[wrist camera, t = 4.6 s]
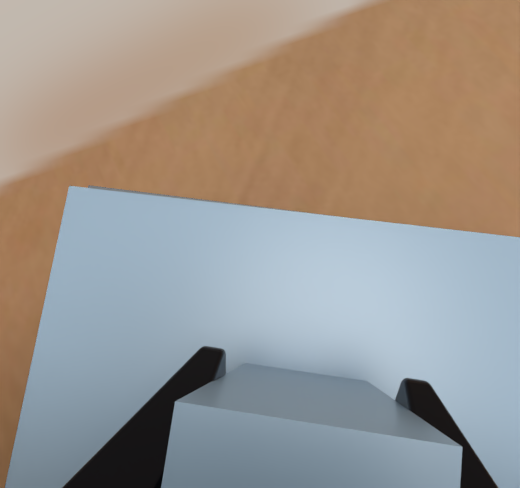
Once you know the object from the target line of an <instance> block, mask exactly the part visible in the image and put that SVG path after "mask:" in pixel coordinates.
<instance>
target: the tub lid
mask: <svg viewBox="0 0 520 488" xmlns="http://www.w3.org/2000/svg"><path fill="white" fill-rule="evenodd" d="M203 346H210V347H216V348H222V349H224V350H225V352H226V375H224V376H223V377H221V378H219V379H217V380H215V381H212V382H210V383H208V384H206V385H204V386H202V387H201V388H199V389H197V390H195V391H193V392H191V393H190V394H188V395H186V396H184V397H182V398H180V399H178V400H177V401H175V405H174V411H173V417H172V423H171V429H170V435H169V442H168V448H167V454H166V460H165V466H164V473H163V479H162V485H161V488H460V480H461V464H462V448H463V447H462V446H460V445H459V444H457V443H456V442H455V441H453V440H452V439H450V438H449V437H447V436H446V435H444V434H443V433H442V432H440V431H439V430H437V429H436V428H434V427H433V426H431V425H430V424H429V423H427V422H426V421H424V420H423V419H421V418H420V417H418V416H417V415H415V414H414V413H413V412H411V411H409V410H408V409H406V408H405V407H403V406H402V405H400V404H399V403H398V402H396V401H395V399H396V396H397V393H398V390H399V387H400V384H401V381H402V380H403V379H404V378H412V379H418V380H424V381H427V382H428V383H429V384H430V385H431V386H432V387H433V389H434V390H435V392H436V393H437V395H438V397H439V398H440V400H441V401H442V403H443V404H444V406H445V407H446V409H447V410H448V412H449V413H450V415H451V416H452V418H453V419H454V421H455V422H456V424H457V425H458V427H459V428H460V430H461V432H462V433H463V435H464V436H465V438H466V439H467V441H468V442H469V444H470V445H471V447H472V448H473V450H474V451H475V453H476V454H477V456H478V457H479V459H480V460H481V462H482V463H483V465H484V467H485V468H486V470H487V471H488V473H489V474H490V476H491V477H492V479H493V480H494V482H495V483H496V485H497V486H498V488H520V237H511V236H503V235H494V234H485V233H476V232H468V231H459V230H450V229H442V228H433V227H424V226H415V225H407V224H398V223H389V222H380V221H372V220H363V219H354V218H345V217H337V216H328V215H319V214H311V213H302V212H293V211H284V210H276V209H267V208H258V207H249V206H241V205H232V204H223V203H214V202H206V201H197V200H188V199H180V198H171V197H162V196H153V195H145V194H136V193H127V192H118V191H110V190H101V189H92V188H83V187H75V186H69V190H68V194H67V199H66V204H65V208H64V213H63V218H62V222H61V227H60V232H59V236H58V241H57V246H56V251H55V255H54V260H53V265H52V269H51V274H50V279H49V283H48V288H47V293H46V297H45V302H44V307H43V311H42V316H41V321H40V325H39V330H38V335H37V339H36V344H35V349H34V353H33V358H32V363H31V367H30V372H29V377H28V382H27V386H26V391H25V396H24V400H23V405H22V410H21V414H20V419H19V424H18V428H17V433H16V438H15V442H14V447H13V452H12V456H11V461H10V466H9V470H8V475H7V480H6V484H5V488H62V487H63V486H64V485H65V484H66V483H67V482H68V481H69V480H70V479H71V478H72V477H73V476H74V475H75V474H76V473H77V472H78V471H79V470H80V469H81V468H82V467H83V466H84V465H85V464H86V463H87V462H88V461H89V460H90V459H91V458H92V457H93V456H94V455H95V454H96V453H97V452H98V451H99V450H100V449H101V448H102V447H103V446H104V445H105V444H106V443H107V442H108V441H109V440H110V439H111V438H112V437H113V436H114V435H115V434H116V433H117V432H118V431H119V430H120V429H121V428H122V427H123V426H124V425H125V424H126V423H127V422H128V420H129V419H130V418H131V417H132V416H133V415H134V414H135V413H136V412H137V411H138V410H139V409H140V408H141V407H142V406H143V405H144V404H145V403H146V402H147V401H148V400H149V399H150V398H151V397H152V396H153V395H154V394H155V393H156V392H157V391H158V390H159V389H160V388H161V387H162V386H163V385H164V384H165V383H166V382H167V381H168V380H169V379H170V378H171V377H172V376H173V375H174V374H175V373H176V372H177V371H178V370H179V369H180V368H181V367H182V366H183V365H184V364H185V363H186V362H187V361H188V360H189V359H190V358H191V357H192V356H193V355H194V354H195V353H196V352H197V351H198V350H199V349H200V348H201V347H203Z"/></svg>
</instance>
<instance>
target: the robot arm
mask: <svg viewBox="0 0 520 488" xmlns="http://www.w3.org/2000/svg"><path fill="white" fill-rule="evenodd" d="M224 375H226V352H225V350H224V349H222V348H216V347H210V346H203V347H201V348H200V349H199V350H198V351H197V352H196V353H195V354H194V355H193V356H192V357H191V358H190V359H189V360H188V361H187V362H186V363H185V364H184V365H183V366H182V367H181V368H180V369H179V370H178V371H177V372H176V373H175V374H174V375H173V376H172V377H171V378H170V379H169V380H168V381H167V382H166V383H165V384H164V385H163V386H162V387H161V388H160V389H159V390H158V391H157V392H156V393H155V394H154V395H153V396H152V397H151V398H150V399H149V400H148V401H147V402H146V403H145V404H144V405H143V406H142V407H141V408H140V409H139V410H138V411H137V412H136V413H135V414H134V415H133V416H132V417H131V418H130V419H129V420H128V422H127V423H126V424H125V425H124V426H123V427H122V428H121V429H120V430H119V431H118V432H117V433H116V434H115V435H114V436H113V437H112V438H111V439H110V440H109V441H108V442H107V443H106V444H105V445H104V446H103V447H102V448H101V449H100V450H99V451H98V452H97V453H96V454H95V455H94V456H93V457H92V458H91V459H90V460H89V461H88V462H87V463H86V464H85V465H84V466H83V467H82V468H81V469H80V470H79V471H78V472H77V473H76V474H75V475H74V476H73V477H72V478H71V479H70V480H69V481H68V482H67V483H66V484H65V485H64V486H63V487H62V488H161V485H162V479H163V473H164V466H165V460H166V454H167V448H168V442H169V435H170V429H171V423H172V417H173V411H174V405H175V401H177V400H178V399H180V398H182V397H184V396H186V395H188V394H190V393H191V392H193V391H195V390H197V389H199V388H201V387H202V386H204V385H206V384H208V383H210V382H212V381H215V380H217V379H219V378H221V377H223V376H224ZM395 401H396V402H398V403H399V404H400V405H402V406H403V407H405V408H406V409H408V410H409V411H411V412H413V413H414V414H415V415H417V416H418V417H420V418H421V419H423V420H424V421H426V422H427V423H429V424H430V425H431V426H433V427H434V428H436V429H437V430H439V431H440V432H442V433H443V434H444V435H446V436H447V437H449V438H450V439H452V440H453V441H455V442H456V443H457V444H459V445H460V446H462V447H463V448H462V464H461V480H460V488H498V486H497V485H496V483H495V482H494V480H493V479H492V477H491V476H490V474H489V473H488V471H487V470H486V468H485V467H484V465H483V463H482V462H481V460H480V459H479V457H478V456H477V454H476V453H475V451H474V450H473V448H472V447H471V445H470V444H469V442H468V441H467V439H466V438H465V436H464V435H463V433H462V432H461V430H460V428H459V427H458V425H457V424H456V422H455V421H454V419H453V418H452V416H451V415H450V413H449V412H448V410H447V409H446V407H445V406H444V404H443V403H442V401H441V400H440V398H439V397H438V395H437V393H436V392H435V390H434V389H433V387H432V386H431V385H430V384H429V383H428V382H427V381H424V380H418V379H412V378H404V379H403V380H402V381H401V384H400V387H399V390H398V393H397V396H396V399H395Z"/></svg>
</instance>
